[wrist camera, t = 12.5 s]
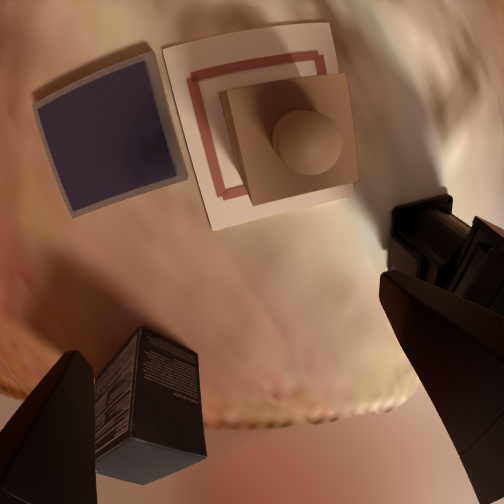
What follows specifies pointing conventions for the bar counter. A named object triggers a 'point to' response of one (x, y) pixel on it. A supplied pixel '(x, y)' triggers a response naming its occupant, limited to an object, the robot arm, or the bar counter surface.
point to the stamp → (291, 135)
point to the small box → (148, 410)
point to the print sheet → (211, 114)
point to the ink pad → (111, 135)
